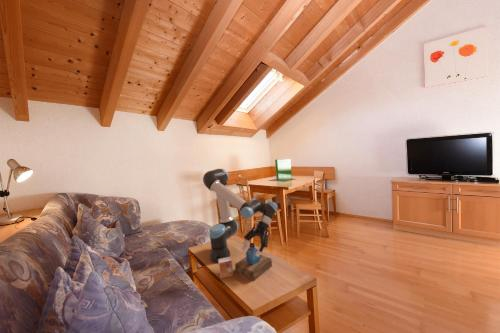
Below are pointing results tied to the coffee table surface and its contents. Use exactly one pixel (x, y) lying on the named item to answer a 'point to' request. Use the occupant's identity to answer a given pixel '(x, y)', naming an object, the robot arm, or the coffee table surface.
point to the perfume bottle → (252, 255)
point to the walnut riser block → (253, 267)
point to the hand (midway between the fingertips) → (249, 252)
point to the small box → (225, 267)
